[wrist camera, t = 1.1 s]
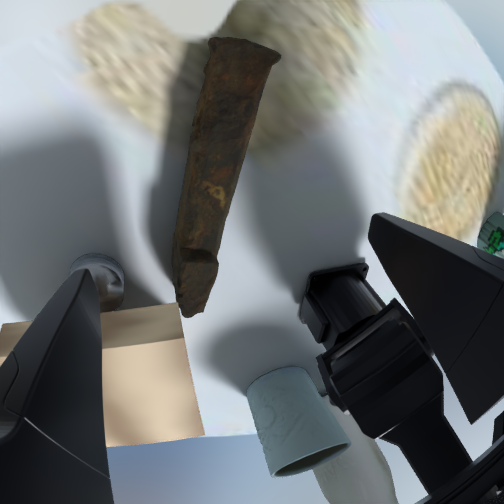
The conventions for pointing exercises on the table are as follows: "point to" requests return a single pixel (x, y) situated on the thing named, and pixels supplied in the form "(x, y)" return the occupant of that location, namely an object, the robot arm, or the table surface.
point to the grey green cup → (294, 422)
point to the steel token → (104, 279)
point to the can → (493, 235)
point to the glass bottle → (356, 469)
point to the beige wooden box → (139, 375)
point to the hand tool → (215, 162)
